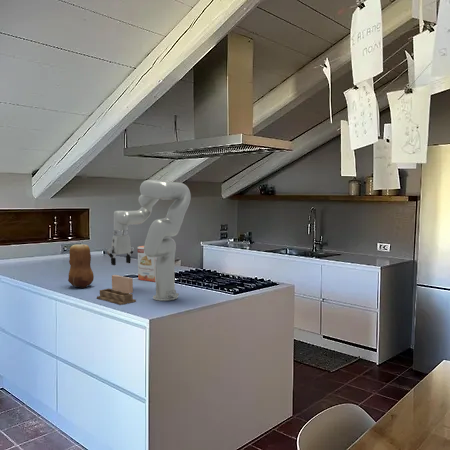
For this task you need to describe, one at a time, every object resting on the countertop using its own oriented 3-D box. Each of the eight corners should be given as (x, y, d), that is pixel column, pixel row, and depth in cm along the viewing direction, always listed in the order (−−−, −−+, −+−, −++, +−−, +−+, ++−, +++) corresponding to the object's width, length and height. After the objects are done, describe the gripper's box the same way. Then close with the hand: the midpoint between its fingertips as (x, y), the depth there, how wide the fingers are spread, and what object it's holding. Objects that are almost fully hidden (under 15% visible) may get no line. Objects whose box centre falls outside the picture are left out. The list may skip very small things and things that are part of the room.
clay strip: (132, 292, 251) (132, 278, 250) (129, 293, 249) (128, 278, 248) (115, 288, 261) (115, 274, 261) (112, 289, 260) (111, 275, 259)
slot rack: (135, 301, 230) (135, 293, 229) (120, 305, 223) (120, 296, 223) (111, 295, 244) (111, 287, 243) (96, 298, 237) (96, 290, 237)
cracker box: (137, 279, 287) (137, 246, 285) (144, 278, 292) (143, 245, 290) (154, 282, 279) (153, 247, 277) (161, 280, 284) (160, 246, 282)
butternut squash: (87, 283, 275) (86, 242, 273) (97, 287, 265) (96, 244, 263) (64, 287, 266) (63, 244, 264) (74, 290, 256) (72, 246, 254)
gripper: (111, 234, 244) (111, 266, 246) (137, 232, 257) (137, 263, 258) (103, 233, 249) (103, 265, 251) (129, 231, 262) (129, 261, 263)
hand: (120, 264), depth 254 cm, fingers open, 9 cm apart
